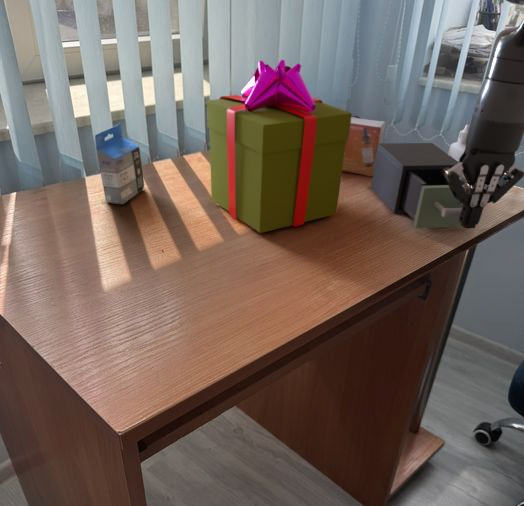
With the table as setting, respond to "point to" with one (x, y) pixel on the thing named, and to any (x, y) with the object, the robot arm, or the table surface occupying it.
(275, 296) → the table surface
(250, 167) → the gift box
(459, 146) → the eye dropper bottle
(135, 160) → the label tape box
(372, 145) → the small box
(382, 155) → the cabinet
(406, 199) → the drawer
